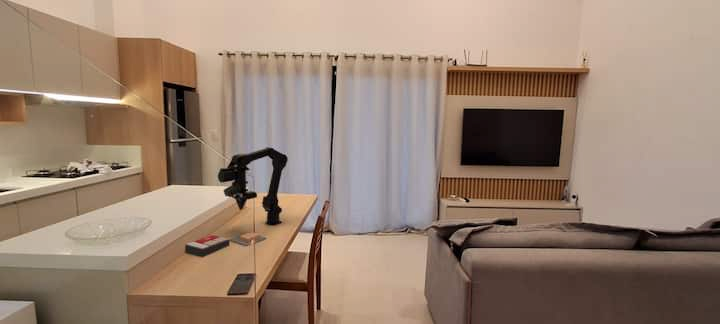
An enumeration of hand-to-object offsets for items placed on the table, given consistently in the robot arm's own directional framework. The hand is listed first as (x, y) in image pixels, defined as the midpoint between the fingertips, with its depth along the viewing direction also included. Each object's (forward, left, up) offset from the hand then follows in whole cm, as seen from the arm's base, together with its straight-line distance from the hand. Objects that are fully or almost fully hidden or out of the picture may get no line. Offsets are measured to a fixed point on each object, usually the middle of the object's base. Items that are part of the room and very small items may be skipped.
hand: (240, 209), depth 172 cm
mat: (+5, +11, -12) cm, 17 cm away
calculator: (+22, +5, -13) cm, 26 cm away
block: (+5, +9, -10) cm, 15 cm away
